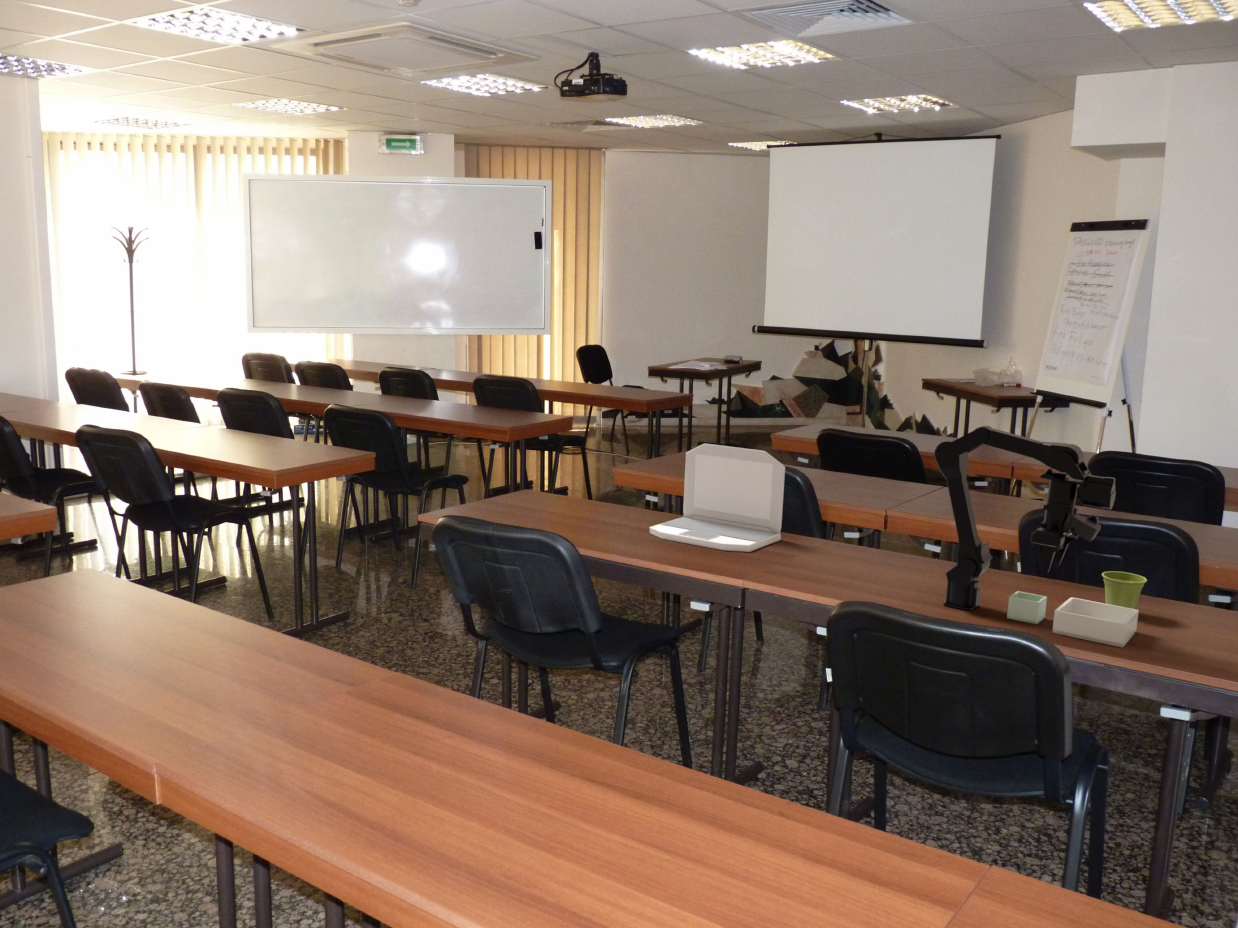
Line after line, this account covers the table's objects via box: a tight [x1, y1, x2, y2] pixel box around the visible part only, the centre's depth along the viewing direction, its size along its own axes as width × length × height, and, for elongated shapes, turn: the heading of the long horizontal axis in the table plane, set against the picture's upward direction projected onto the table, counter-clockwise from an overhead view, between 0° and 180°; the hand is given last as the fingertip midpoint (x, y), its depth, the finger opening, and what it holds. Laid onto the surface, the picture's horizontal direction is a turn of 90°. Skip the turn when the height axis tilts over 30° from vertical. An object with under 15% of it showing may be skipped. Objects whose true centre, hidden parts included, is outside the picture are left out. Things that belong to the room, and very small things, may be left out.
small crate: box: [1006, 590, 1048, 625], centre depth 227 cm, size 6×6×5 cm
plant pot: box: [1101, 570, 1148, 610], centre depth 234 cm, size 9×9×9 cm
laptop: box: [649, 443, 786, 553], centre depth 294 cm, size 33×24×26 cm
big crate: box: [1051, 597, 1139, 648], centre depth 218 cm, size 14×14×5 cm
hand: (1051, 569), depth 222 cm, fingers open, 9 cm apart
